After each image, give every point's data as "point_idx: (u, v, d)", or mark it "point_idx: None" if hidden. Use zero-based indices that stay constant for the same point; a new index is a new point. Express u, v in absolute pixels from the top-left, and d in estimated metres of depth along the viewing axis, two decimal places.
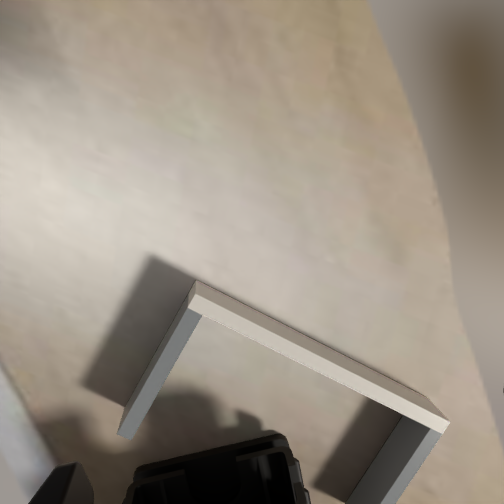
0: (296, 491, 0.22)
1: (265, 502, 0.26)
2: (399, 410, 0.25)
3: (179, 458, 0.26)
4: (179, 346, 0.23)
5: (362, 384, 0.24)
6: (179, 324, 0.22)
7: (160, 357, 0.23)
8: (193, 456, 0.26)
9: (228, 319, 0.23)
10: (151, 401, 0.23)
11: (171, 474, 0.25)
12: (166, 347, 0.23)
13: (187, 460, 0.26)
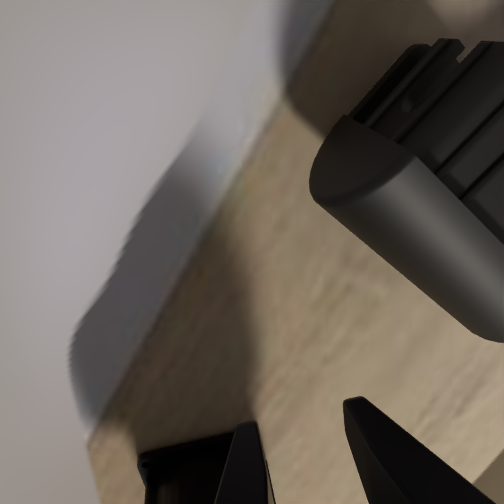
0: None
1: None
2: None
3: None
4: None
5: None
6: None
7: None
8: None
9: None
10: None
11: None
12: None
13: None
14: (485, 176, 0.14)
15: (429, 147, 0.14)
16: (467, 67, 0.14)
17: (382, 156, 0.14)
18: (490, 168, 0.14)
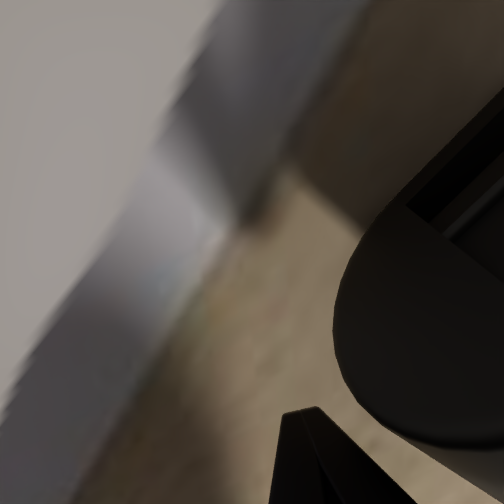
0: None
1: None
2: None
3: None
4: None
5: None
6: None
7: None
8: None
9: None
10: None
11: None
12: None
13: None
14: None
15: None
16: None
17: None
18: None
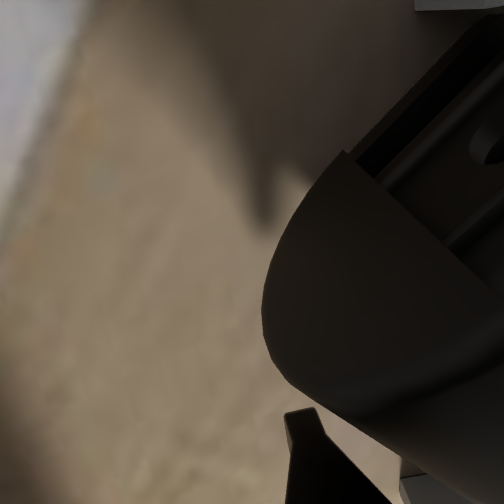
0: None
1: None
2: None
3: None
4: None
5: None
6: None
7: None
8: None
9: None
10: None
11: None
12: None
13: None
14: None
15: None
16: None
17: (425, 298, 0.05)
18: None
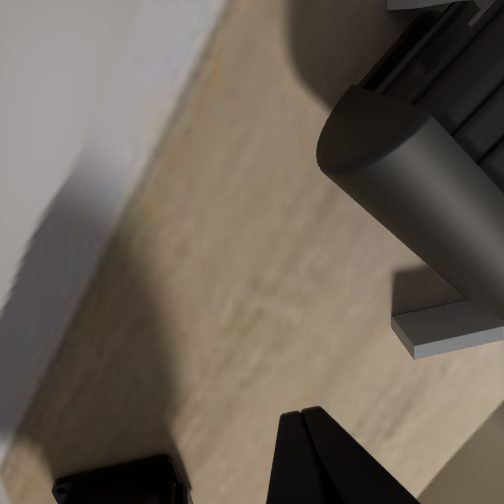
0: None
1: None
2: None
3: None
4: None
5: None
6: None
7: None
8: None
9: None
10: None
11: None
12: None
13: None
14: (503, 140, 0.14)
15: (445, 108, 0.13)
16: (484, 25, 0.13)
17: (395, 119, 0.13)
18: None
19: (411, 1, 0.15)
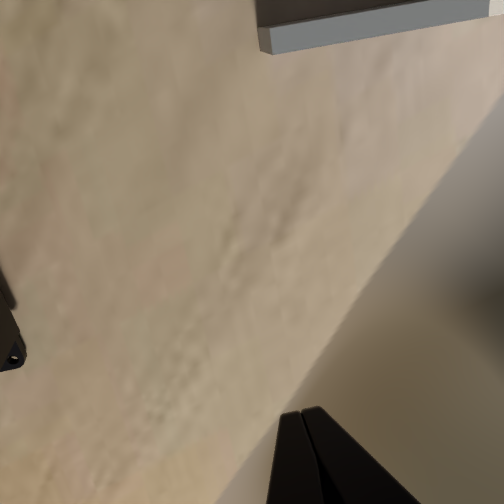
0: None
1: None
2: None
3: None
4: None
5: None
6: None
7: None
8: None
9: None
10: None
11: None
12: None
13: None
14: None
15: None
16: None
17: None
18: None
19: None
